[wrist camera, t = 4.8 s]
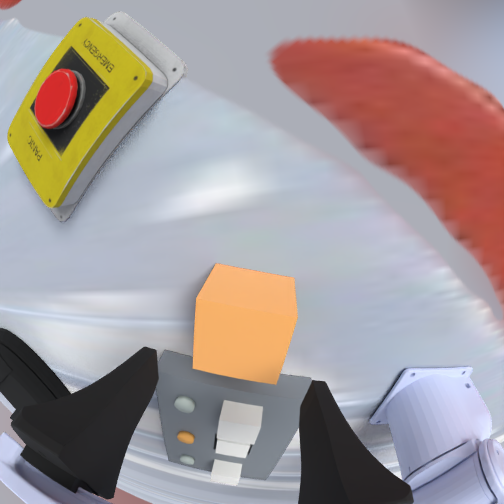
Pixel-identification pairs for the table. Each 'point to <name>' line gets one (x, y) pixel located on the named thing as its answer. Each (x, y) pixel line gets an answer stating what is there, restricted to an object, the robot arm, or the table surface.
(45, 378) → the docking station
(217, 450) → the block
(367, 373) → the table surface
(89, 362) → the table surface
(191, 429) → the breaker board
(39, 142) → the emergency button
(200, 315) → the orange rounded cube
